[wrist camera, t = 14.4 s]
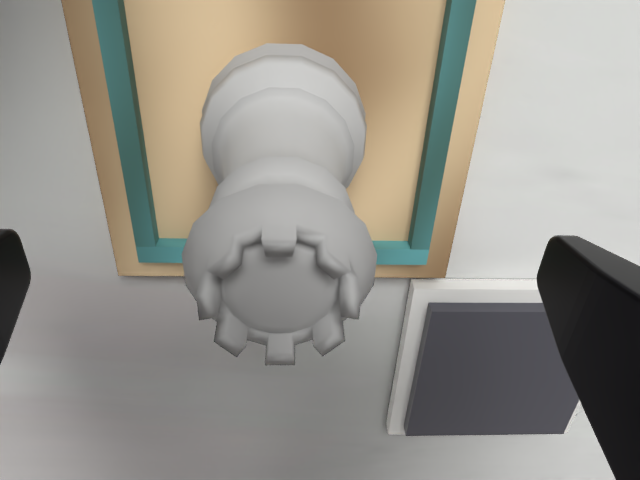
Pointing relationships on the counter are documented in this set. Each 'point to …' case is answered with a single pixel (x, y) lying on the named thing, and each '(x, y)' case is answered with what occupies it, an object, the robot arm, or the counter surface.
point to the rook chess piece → (281, 204)
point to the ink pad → (478, 362)
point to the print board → (283, 28)
